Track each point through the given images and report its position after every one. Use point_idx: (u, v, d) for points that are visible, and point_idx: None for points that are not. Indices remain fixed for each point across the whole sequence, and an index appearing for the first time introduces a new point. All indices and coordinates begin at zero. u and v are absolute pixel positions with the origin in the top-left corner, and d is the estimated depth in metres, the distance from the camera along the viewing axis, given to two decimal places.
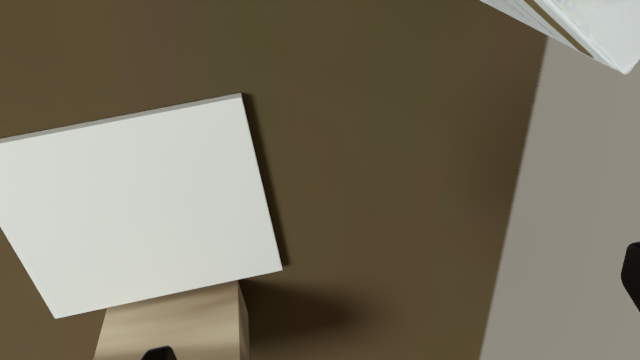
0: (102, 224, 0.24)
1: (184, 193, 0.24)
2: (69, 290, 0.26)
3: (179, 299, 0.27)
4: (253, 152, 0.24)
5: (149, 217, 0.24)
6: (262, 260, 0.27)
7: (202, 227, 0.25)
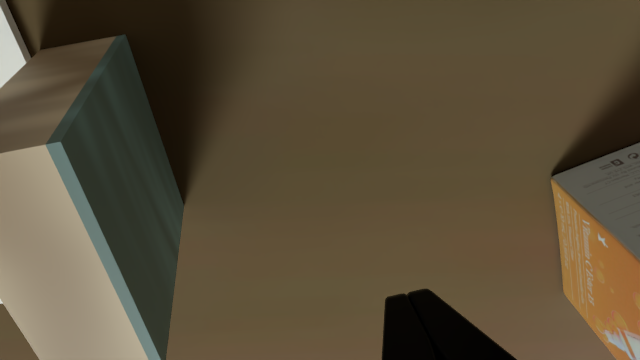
0: None
1: None
2: None
3: None
4: None
5: None
6: None
7: None
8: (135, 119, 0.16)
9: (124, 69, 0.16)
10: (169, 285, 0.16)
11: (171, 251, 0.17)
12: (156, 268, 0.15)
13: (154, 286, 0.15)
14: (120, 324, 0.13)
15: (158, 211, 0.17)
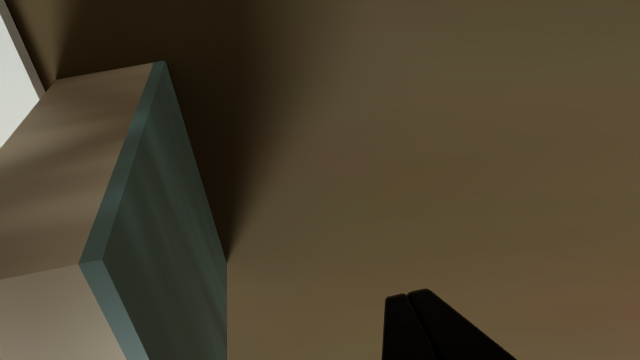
0: None
1: None
2: None
3: None
4: None
5: None
6: None
7: None
8: (179, 173, 0.12)
9: (166, 108, 0.12)
10: None
11: (221, 337, 0.14)
12: None
13: None
14: None
15: (206, 289, 0.13)
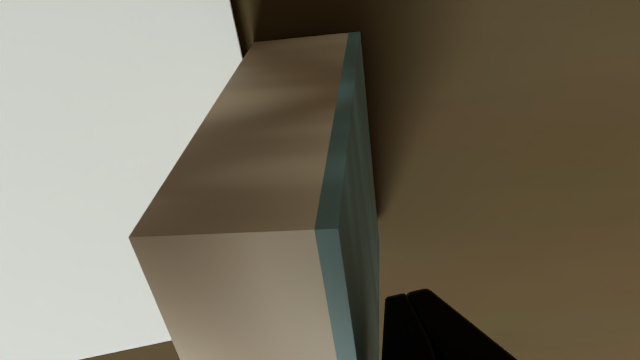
0: (110, 249, 0.15)
1: (24, 133, 0.13)
2: None
3: None
4: None
5: (88, 188, 0.14)
6: None
7: (102, 107, 0.13)
8: (364, 148, 0.12)
9: (360, 80, 0.12)
10: None
11: (377, 318, 0.13)
12: (373, 357, 0.11)
13: None
14: None
15: (372, 268, 0.13)
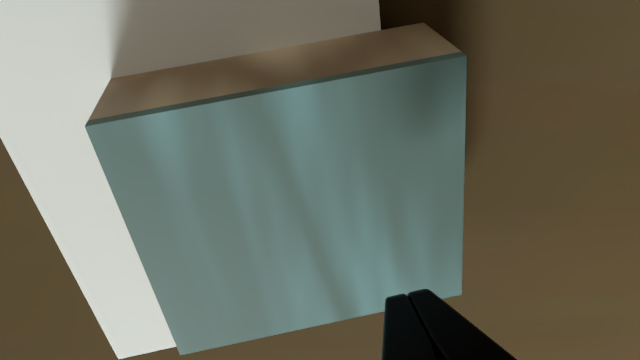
0: None
1: None
2: None
3: None
4: None
5: None
6: None
7: None
8: (364, 160, 0.12)
9: (395, 99, 0.11)
10: (279, 322, 0.14)
11: (330, 305, 0.14)
12: (252, 296, 0.13)
13: (227, 303, 0.13)
14: None
15: (330, 261, 0.13)
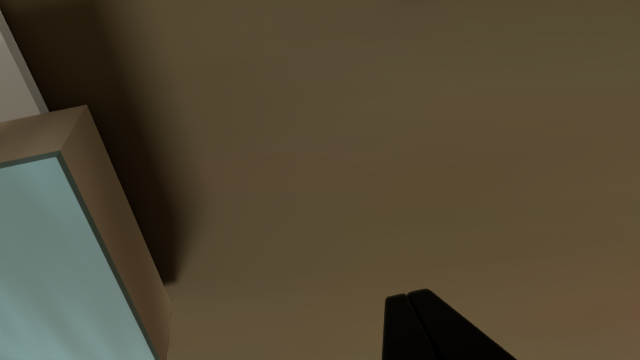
0: None
1: None
2: None
3: None
4: None
5: None
6: None
7: None
8: None
9: None
10: None
11: None
12: None
13: None
14: None
15: None
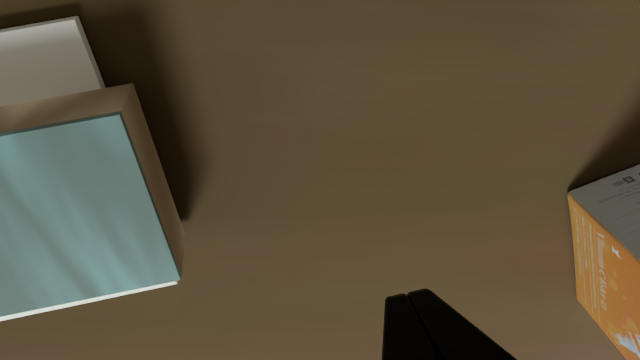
0: None
1: None
2: None
3: None
4: None
5: None
6: (56, 50, 0.17)
7: None
8: (67, 184, 0.17)
9: (75, 143, 0.16)
10: (39, 299, 0.19)
11: (76, 287, 0.19)
12: (11, 279, 0.18)
13: None
14: None
15: (64, 254, 0.18)
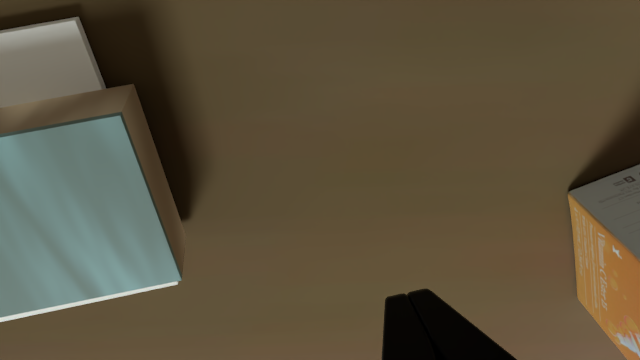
0: None
1: None
2: None
3: None
4: None
5: None
6: (57, 51, 0.17)
7: None
8: (68, 185, 0.17)
9: (76, 144, 0.16)
10: (40, 300, 0.19)
11: (77, 288, 0.19)
12: (12, 280, 0.19)
13: None
14: None
15: (65, 255, 0.18)
